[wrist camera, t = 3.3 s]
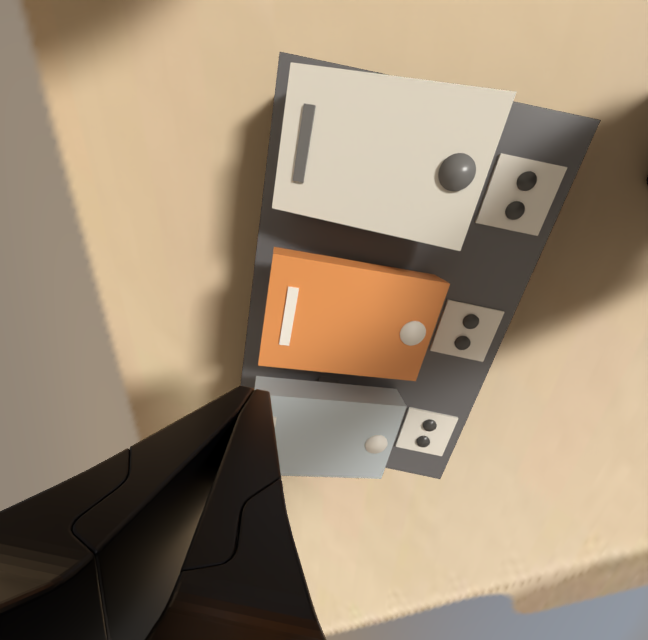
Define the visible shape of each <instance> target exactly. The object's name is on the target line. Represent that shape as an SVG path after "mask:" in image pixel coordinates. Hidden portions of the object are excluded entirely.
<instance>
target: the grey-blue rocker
mask: <svg viewBox="0 0 648 640" xmlns="http://www.w3.org/2000/svg"><path fill="white" fill-rule="evenodd" d="M255 389H260V390H265V391H269V392H270V398H271V405H272V412H273V420H274V427H275V435H276V442H277V450H278V457H279V464H280V472H281V475H282V476H313V477H344V478H375V479H381V478H382V475H383V472H384V469H385V467H386V464H387V461H388V458H389V455H390V452H391V450H392V447H393V444H394V441H395V438H396V436H397V433H398V430H399V427H400V424H401V421H402V419H403V416H404V413H405V410H406V407H407V406H406V404H405V403H404V401H403V399H402V397H401V396H400V394H399V392H398V391H397V389H393V388H382V387H371V386H360V385H350V384H339V383H328V382H317V381H306V380H296V379H285V378H274V377H263V376H256V381H255V388H254V390H255Z"/></svg>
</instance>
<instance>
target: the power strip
mask: <svg viewBox="0 0 648 640" xmlns="http://www.w3.org/2000/svg"><path fill="white" fill-rule="evenodd" d="M291 62H293V63H300V64H308V65H316V66H323V67H331V68H339V69H346V70H354V71H362V72H369V73H377V74H382V73H378V72H373V71H368V70H363V69H359V68H354V67H349V66H345V65H340V64H335V63H331V62H326V61H321V60H317V59H312V58H307V57H302V56H298V55H293V54H288V53H284V52H280V54H279V62H278V71H277V79H276V88H275V96H274V105H273V114H272V122H271V131H270V139H269V148H268V156H267V165H266V173H265V182H264V190H263V199H262V207H261V216H260V224H259V233H258V241H257V250H256V259H255V267H254V276H253V284H252V293H251V301H250V310H249V318H248V327H247V335H246V344H245V352H244V361H243V369H242V378H241V386H245V387H250V388H253V389H254V388H255V381H256V376H263V377H274V378H285V379H296V380H306V381H317V382H328V383H339V384H350V385H360V386H371V387H382V388H393V389H397V391H398V392H399V394H400V396H401V397H402V399H403V401H404V403H405V404H406V406H407V407H406V410H405V413H404V416H403V419H402V421H401V424H400V427H399V430H398V433H397V436H396V438H395V441H394V444H393V447H392V450H391V452H390V455H389V458H388V461H387V464H386V467H385V468H390V469H395V470H399V471H404V472H409V473H414V474H418V475H423V476H428V477H433V478H437V479H440V478H441V476H442V474H443V472H444V470H445V467H446V465H447V463H448V461H449V458H450V456H451V454H452V452H453V449H454V447H455V445H456V443H457V440H458V438H459V436H460V434H461V431H462V429H463V427H464V425H465V423H466V420H467V418H468V416H469V414H470V411H471V409H472V407H473V405H474V402H475V400H476V398H477V396H478V393H479V391H480V389H481V387H482V385H483V382H484V380H485V378H486V376H487V373H488V371H489V369H490V367H491V364H492V362H493V360H494V358H495V355H496V353H497V351H498V349H499V346H500V344H501V342H502V340H503V338H504V335H505V333H506V331H507V329H508V326H509V324H510V322H511V320H512V317H513V315H514V313H515V311H516V308H517V306H518V304H519V302H520V299H521V297H522V295H523V293H524V291H525V288H526V286H527V284H528V282H529V279H530V277H531V275H532V273H533V270H534V268H535V266H536V264H537V261H538V259H539V257H540V255H541V253H542V250H543V248H544V246H545V244H546V241H547V239H548V237H549V235H550V232H551V230H552V228H553V226H554V223H555V221H556V219H557V217H558V214H559V212H560V210H561V208H562V206H563V203H564V201H565V199H566V197H567V194H568V192H569V190H570V188H571V185H572V183H573V181H574V179H575V176H576V174H577V172H578V170H579V168H580V165H581V163H582V161H583V159H584V156H585V154H586V152H587V150H588V147H589V145H590V143H591V141H592V138H593V136H594V134H595V132H596V129H597V127H598V125H599V123H600V121H601V120H598V119H593V118H589V117H584V116H579V115H575V114H570V113H565V112H561V111H556V110H551V109H547V108H542V107H537V106H532V105H528V104H523V103H518V102H514V101H513V103H512V106H511V109H510V112H509V115H508V118H507V120H506V123H505V126H504V129H503V132H502V135H501V137H500V140H499V143H498V146H497V149H496V152H495V154H494V157H493V160H492V163H491V166H490V169H489V171H488V174H487V177H486V180H485V183H484V186H483V188H482V191H481V194H480V197H479V200H478V203H477V205H476V208H475V211H474V214H473V217H472V220H471V222H470V225H469V228H468V231H467V234H466V237H465V239H464V242H463V245H462V248H461V251H457V250H453V249H448V248H444V247H439V246H435V245H431V244H426V243H422V242H418V241H413V240H409V239H405V238H400V237H396V236H391V235H387V234H383V233H378V232H374V231H370V230H365V229H361V228H356V227H352V226H348V225H343V224H339V223H335V222H330V221H326V220H321V219H317V218H313V217H308V216H304V215H300V214H295V213H291V212H287V211H282V210H278V209H273V208H272V203H273V195H274V187H275V180H276V172H277V164H278V156H279V149H280V141H281V133H282V125H283V117H284V110H285V102H286V94H287V86H288V79H289V71H290V63H291ZM385 75H387V74H385ZM274 247H279V248H284V249H290V250H296V251H302V252H307V253H313V254H319V255H325V256H331V257H336V258H342V259H348V260H354V261H359V262H365V263H371V264H377V265H382V266H388V267H394V268H400V269H406V270H411V271H417V272H423V273H429V274H434V275H436V276H438V277H440V278H441V279H443V280H445V281H447V282H448V283H450V286H449V289H448V292H447V294H446V297H445V300H444V303H443V306H442V309H441V311H440V314H439V317H438V320H437V323H436V325H435V328H434V331H433V334H432V337H431V340H430V342H429V345H428V348H427V351H426V354H425V356H424V359H423V362H422V365H421V368H420V371H419V373H418V376H417V379H416V381H409V380H398V379H388V378H378V377H368V376H358V375H348V374H338V373H328V372H318V371H307V370H297V369H287V368H277V367H267V366H258V361H259V352H260V344H261V337H262V329H263V322H264V315H265V308H266V300H267V293H268V286H269V278H270V271H271V264H272V256H273V249H274Z"/></svg>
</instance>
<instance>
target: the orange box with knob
mask: <svg viewBox="0 0 648 640" xmlns="http://www.w3.org/2000/svg"><path fill="white" fill-rule="evenodd" d="M449 286H450V283H448V282H447V281H445V280H443V279H441V278H440V277H438V276H436V275H434V274H429V273H423V272H417V271H411V270H406V269H400V268H394V267H388V266H382V265H377V264H371V263H365V262H359V261H354V260H348V259H342V258H336V257H331V256H325V255H319V254H313V253H307V252H302V251H296V250H290V249H284V248H279V247H274V249H273V256H272V264H271V271H270V278H269V286H268V293H267V300H266V308H265V315H264V322H263V329H262V337H261V344H260V352H259V361H258V366H267V367H277V368H287V369H297V370H307V371H318V372H328V373H338V374H348V375H358V376H368V377H378V378H388V379H398V380H409V381H416V379H417V376H418V373H419V371H420V368H421V365H422V362H423V359H424V356H425V354H426V351H427V348H428V345H429V342H430V340H431V337H432V334H433V331H434V328H435V325H436V323H437V320H438V317H439V314H440V311H441V309H442V306H443V303H444V300H445V297H446V294H447V292H448V289H449Z"/></svg>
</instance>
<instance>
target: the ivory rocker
mask: <svg viewBox="0 0 648 640" xmlns="http://www.w3.org/2000/svg"><path fill="white" fill-rule="evenodd" d="M515 95H516V92H515V91H508V90H500V89H492V88H484V87H477V86H469V85H461V84H454V83H446V82H438V81H431V80H423V79H415V78H408V77H400V76H392V75H385V74H377V73H369V72H362V71H354V70H346V69H339V68H331V67H323V66H316V65H308V64H300V63H293V62H291V63H290V71H289V79H288V86H287V94H286V102H285V110H284V117H283V125H282V133H281V141H280V149H279V156H278V164H277V172H276V180H275V187H274V195H273V203H272V208H273V209H278V210H282V211H287V212H291V213H295V214H300V215H304V216H308V217H313V218H317V219H321V220H326V221H330V222H335V223H339V224H343V225H348V226H352V227H356V228H361V229H365V230H370V231H374V232H378V233H383V234H387V235H391V236H396V237H400V238H405V239H409V240H413V241H418V242H422V243H426V244H431V245H435V246H439V247H444V248H448V249H453V250H457V251H461V248H462V245H463V242H464V239H465V237H466V234H467V231H468V228H469V225H470V222H471V220H472V217H473V214H474V211H475V208H476V205H477V203H478V200H479V197H480V194H481V191H482V188H483V186H484V183H485V180H486V177H487V174H488V171H489V169H490V166H491V163H492V160H493V157H494V154H495V152H496V149H497V146H498V143H499V140H500V137H501V135H502V132H503V129H504V126H505V123H506V120H507V118H508V115H509V112H510V109H511V106H512V103H513V100H514V98H515Z"/></svg>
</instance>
